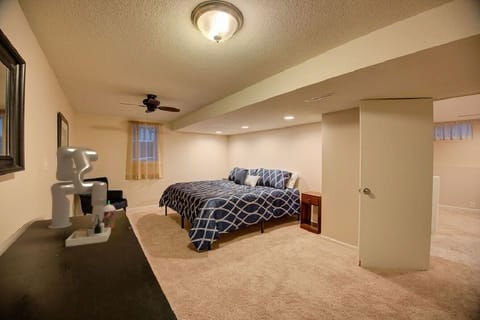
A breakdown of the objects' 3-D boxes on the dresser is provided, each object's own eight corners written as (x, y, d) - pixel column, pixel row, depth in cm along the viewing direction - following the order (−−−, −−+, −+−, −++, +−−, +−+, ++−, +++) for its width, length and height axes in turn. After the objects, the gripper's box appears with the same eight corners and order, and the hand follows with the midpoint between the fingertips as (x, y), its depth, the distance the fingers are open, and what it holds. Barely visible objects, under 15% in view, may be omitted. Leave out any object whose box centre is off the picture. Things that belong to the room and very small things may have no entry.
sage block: (94, 231, 124) (94, 223, 124) (104, 230, 126) (104, 222, 127) (92, 234, 120) (92, 226, 120) (102, 233, 122) (102, 225, 122)
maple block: (78, 237, 121) (78, 229, 121) (88, 236, 123) (88, 228, 123) (75, 240, 116) (75, 232, 117) (86, 239, 119) (86, 231, 119)
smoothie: (110, 231, 135) (110, 201, 135) (97, 231, 135) (98, 201, 135) (118, 227, 143) (118, 199, 143) (106, 227, 143) (107, 199, 143)
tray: (74, 236, 125) (74, 231, 125) (110, 232, 133) (110, 227, 133) (65, 246, 110) (65, 240, 110) (106, 241, 118) (106, 235, 118)
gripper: (94, 200, 130) (94, 228, 129) (88, 205, 114) (87, 237, 114) (108, 199, 133) (108, 227, 132) (103, 204, 117) (103, 235, 117)
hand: (98, 231), depth 123 cm, fingers closed on sage block, 4 cm apart
